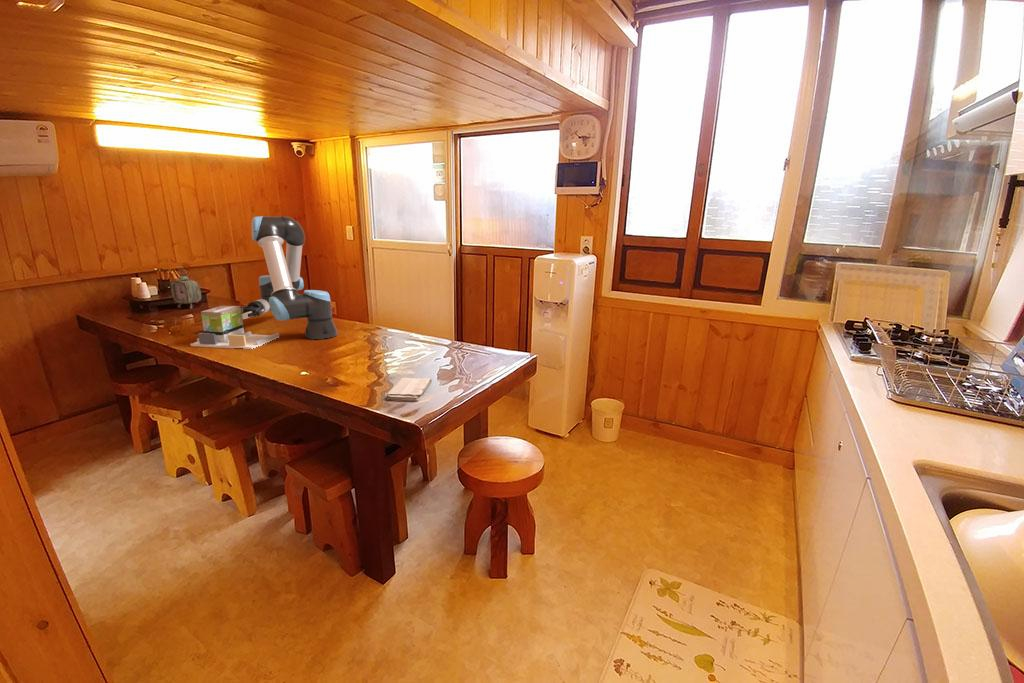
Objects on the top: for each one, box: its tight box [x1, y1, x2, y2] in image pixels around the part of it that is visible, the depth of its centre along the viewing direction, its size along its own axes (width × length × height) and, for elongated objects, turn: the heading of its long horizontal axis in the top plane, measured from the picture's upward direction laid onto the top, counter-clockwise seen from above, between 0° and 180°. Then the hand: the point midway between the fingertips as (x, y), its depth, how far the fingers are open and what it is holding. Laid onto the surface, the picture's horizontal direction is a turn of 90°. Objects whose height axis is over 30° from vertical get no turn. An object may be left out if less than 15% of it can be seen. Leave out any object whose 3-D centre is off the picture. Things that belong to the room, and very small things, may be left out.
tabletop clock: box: [169, 268, 202, 310], centre depth 282 cm, size 14×9×25 cm, turn 72°
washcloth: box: [386, 377, 433, 402], centre depth 159 cm, size 12×18×3 cm, turn 177°
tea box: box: [200, 305, 245, 342], centre depth 215 cm, size 15×10×15 cm, turn 177°
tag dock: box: [190, 331, 280, 350], centre depth 214 cm, size 31×20×6 cm, turn 83°
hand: (229, 316), depth 220 cm, fingers open, 13 cm apart
